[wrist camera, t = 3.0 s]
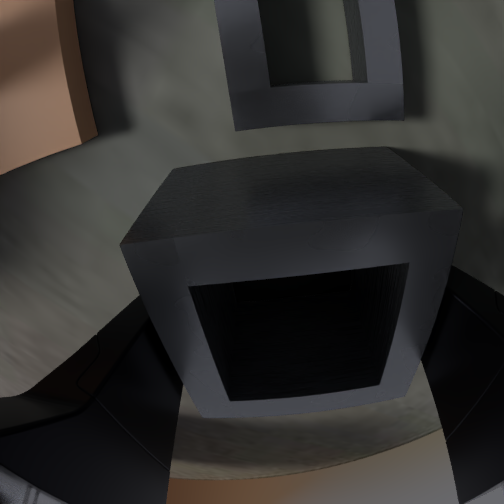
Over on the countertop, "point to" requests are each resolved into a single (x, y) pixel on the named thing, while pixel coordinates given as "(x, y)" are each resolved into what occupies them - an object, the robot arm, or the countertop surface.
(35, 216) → the countertop surface
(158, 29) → the countertop surface
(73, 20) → the tan board with knob
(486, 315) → the robot arm
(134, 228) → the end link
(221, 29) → the dark clasp block
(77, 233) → the countertop surface
